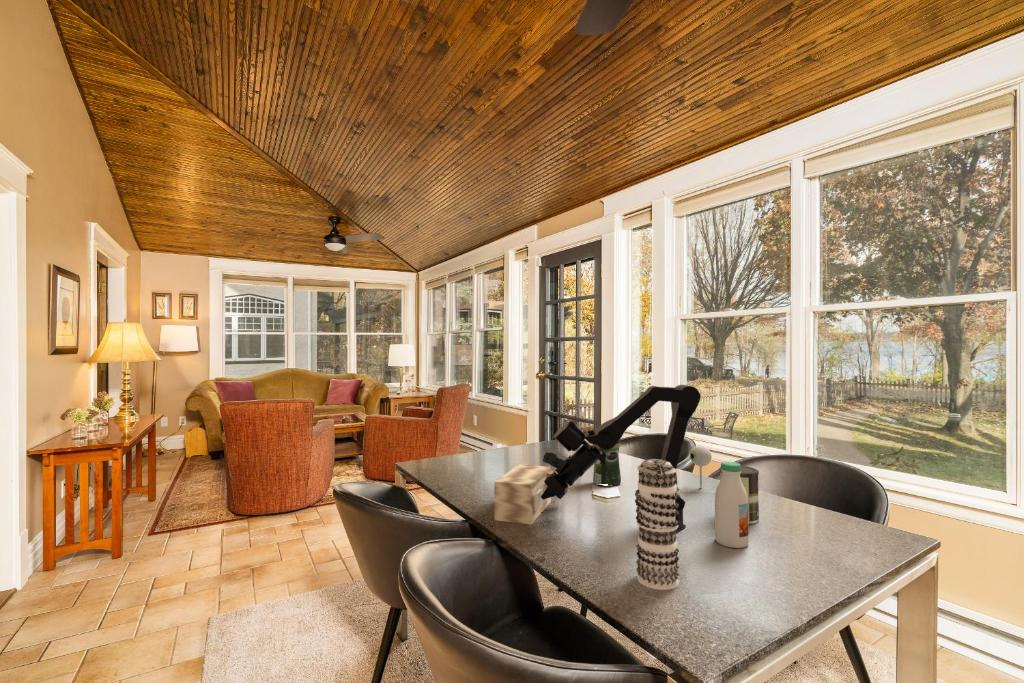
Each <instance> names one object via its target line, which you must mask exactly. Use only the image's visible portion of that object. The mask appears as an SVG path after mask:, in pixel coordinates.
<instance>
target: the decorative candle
mask: <svg viewBox="0 0 1024 683" xmlns="http://www.w3.org/2000/svg"><path fill="white" fill-rule="evenodd" d="M636 468H637V470H638V480H637V489H636V490H635V493H634V495H635V500H634V503H635V506H636V509H635V512H636V516H635V519H636V524H637V525H638V533H639V534H638V536H637V540H638V542H637V544H636V545H635V546H636V548H637V549H636V550H637V552H636V555H637V560H636V565H637V567H636V572H637V575H636V577H637V581H638V582H639V583H640V584H641V585H642V586H644V587H647V588H648V589H653V590H656V591H657V590H659V591H668V590H673V589H675V588H677V587H678V586H679V583H680V582H679V581H680V580H679V576H680V573H679V569H680V566H679V565H678V564H679V563H678V562H679V560H680V558H679V556H678V555H679V552H680V551H679V549H678V540H677V533H676V529H677V528H678V524H679V522H678V521H677V520H676V519H675V517H676V516H678V515H679V514H680V513H679V512H678V511H677V510H676V509H677V508H679V504H678V503H676V502H675V499H679V498H680V497H681V495H680V494H679V493H678V492H679V491H680V488H678V484H677V485H676V475H677V468H676V469H675V468H673V466H672V465H671V463H670V462H668V461H665V460H661V458H660V459H658V458H657V459H656V458H648V459H645V460H643V461H642V462H641V464H640V465H637V467H636ZM675 472H676V473H675ZM675 474H676V475H675ZM676 491H677V493H676Z"/></svg>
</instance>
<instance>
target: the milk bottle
mask: <svg viewBox="0 0 1024 683" xmlns="http://www.w3.org/2000/svg"><path fill="white" fill-rule="evenodd" d="M741 466H742V465H741V464H740V463H738V462H734V461H722V462H721V463H720V467H721V471H722V477H721V480H720V479H719V482H718V484H717V486H716V490H715V493H714V538H715V540H716V542H717V544H719V545H722V546H724V547H728V548H731V549H732V548H733V549H743V548H747V547H748V546H749V543H750V542H749V540H750V538H749V533H750V531H749V529H750V528H749V524H748V498H747V493H746V490H745V488H744V486H743V484H742V482H741V478H740V473H741Z"/></svg>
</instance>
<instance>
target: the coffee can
mask: <svg viewBox="0 0 1024 683" xmlns="http://www.w3.org/2000/svg"><path fill="white" fill-rule="evenodd" d="M718 470H719V481H720V480H721V477H722V471H721V466H720V467H719V469H718ZM759 472H760V471H759V470H758V469H756V468H755V467H751V466H746V465H741V473H740V478H741V482H742V484H743V486H744V488H745V490H746V493H747V498H748V525H752V524H758V523H759V522H760V506H759V505H760V504H759V503H760V501H759V499H760V498H759Z"/></svg>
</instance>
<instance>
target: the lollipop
mask: <svg viewBox="0 0 1024 683" xmlns="http://www.w3.org/2000/svg"><path fill="white" fill-rule="evenodd" d="M712 457H713V456H712V453H711V450H710V449H709V448H708V447H706V446H704V445H695V446H694V447H693V448H691V450H690V452H689V459H690V461H691V463H693V464H694V465H695V466H697V467H699V489H700V488H702V489H703V470H702V467H706V466H708V465H709V464H710V463H711V461H712Z"/></svg>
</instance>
